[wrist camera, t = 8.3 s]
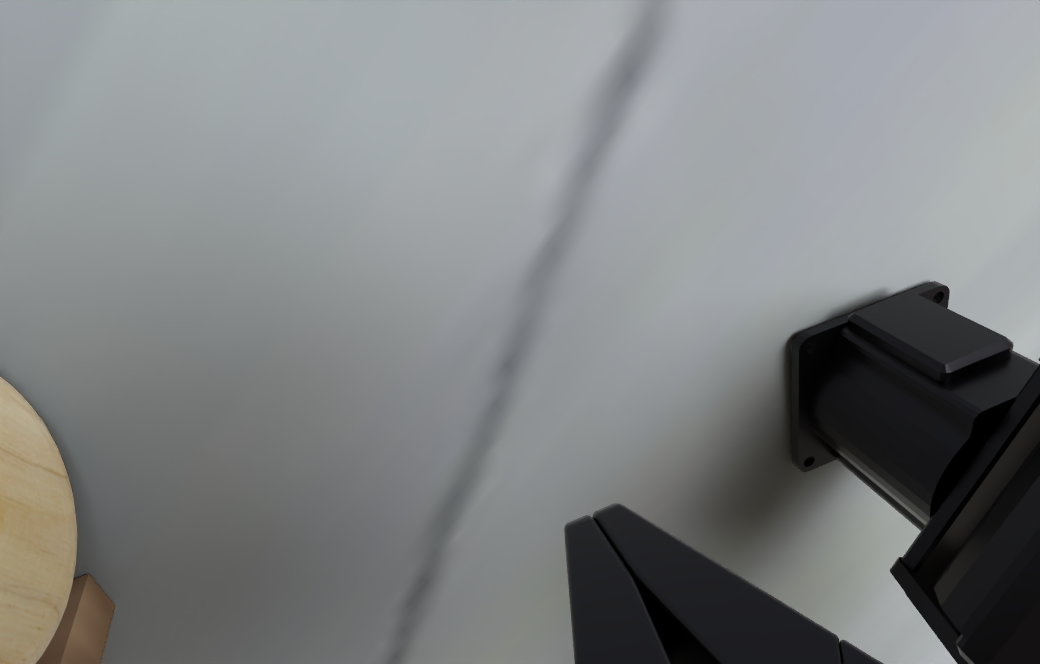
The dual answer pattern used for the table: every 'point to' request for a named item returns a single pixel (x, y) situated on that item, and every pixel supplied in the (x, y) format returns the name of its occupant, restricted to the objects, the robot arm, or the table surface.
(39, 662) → the u rest
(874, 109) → the table surface
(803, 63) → the table surface
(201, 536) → the table surface
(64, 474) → the stacking toy
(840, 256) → the table surface
